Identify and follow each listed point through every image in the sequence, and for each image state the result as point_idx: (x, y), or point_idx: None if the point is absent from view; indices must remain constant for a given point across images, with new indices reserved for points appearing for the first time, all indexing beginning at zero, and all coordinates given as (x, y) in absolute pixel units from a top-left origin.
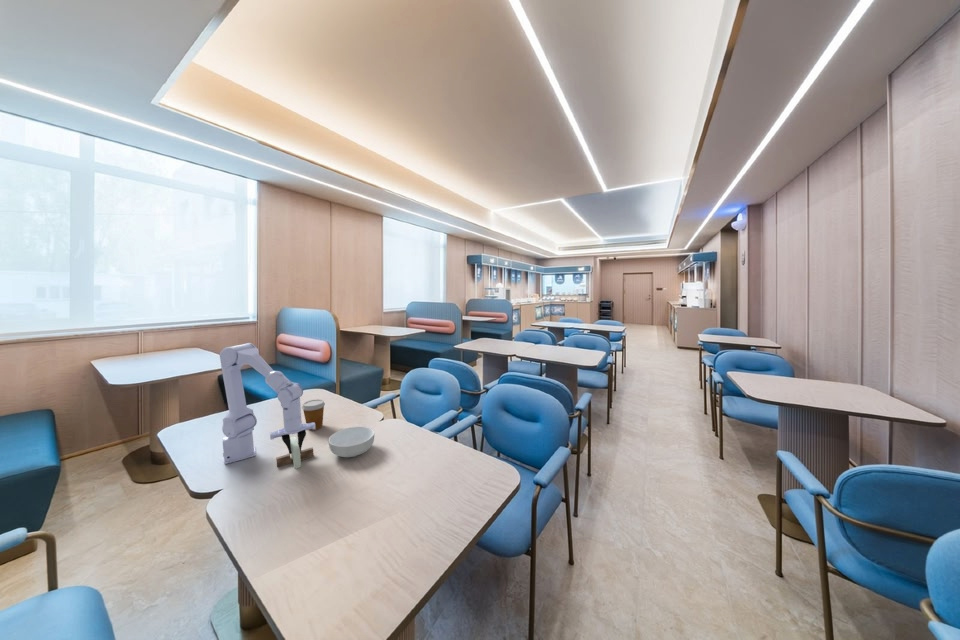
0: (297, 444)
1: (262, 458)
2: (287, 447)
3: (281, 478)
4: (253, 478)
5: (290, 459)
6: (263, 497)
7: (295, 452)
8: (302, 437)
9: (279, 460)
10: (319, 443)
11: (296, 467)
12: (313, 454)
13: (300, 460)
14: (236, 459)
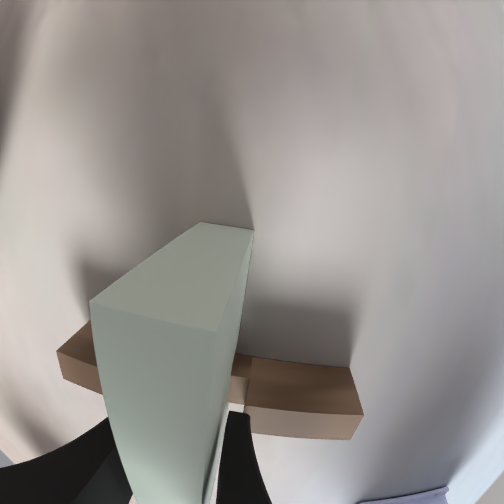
0: (128, 458)
1: (351, 482)
2: (263, 485)
3: (390, 151)
4: (489, 318)
5: (249, 377)
6: (492, 34)
7: (192, 295)
8: (18, 487)
9: (339, 400)
10: (70, 421)
11: (238, 229)
12: (84, 326)
13: (179, 236)
14: (418, 499)
